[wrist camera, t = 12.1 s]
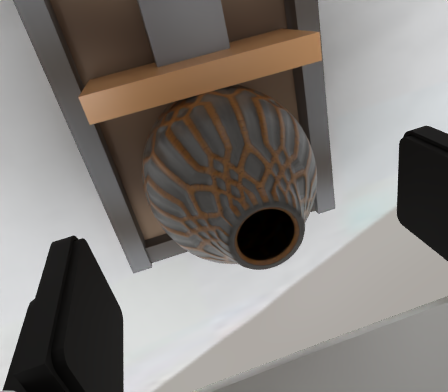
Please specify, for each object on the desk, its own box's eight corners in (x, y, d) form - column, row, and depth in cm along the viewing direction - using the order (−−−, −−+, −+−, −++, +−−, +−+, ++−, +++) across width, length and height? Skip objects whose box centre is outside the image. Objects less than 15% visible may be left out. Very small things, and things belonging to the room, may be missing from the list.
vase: (274, 65, 17) (388, 105, 10) (276, 194, 21) (363, 301, 13) (127, 82, 16) (124, 142, 9) (152, 216, 19) (167, 347, 12)
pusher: (59, 2, 14) (37, -2, 11) (271, -50, 15) (311, -68, 12) (98, 102, 16) (89, 125, 13) (284, 51, 17) (321, 60, 14)
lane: (-126, -338, 11) (-370, -675, 5) (261, -394, 12) (364, -717, 7) (128, 251, 21) (128, 329, 16) (321, 190, 22) (380, 244, 17)
